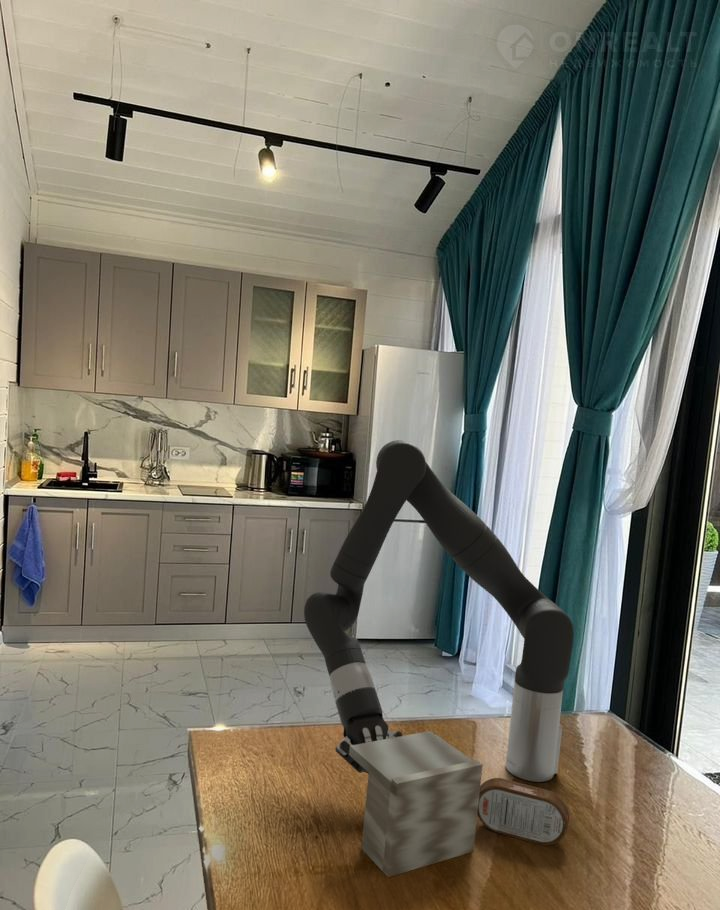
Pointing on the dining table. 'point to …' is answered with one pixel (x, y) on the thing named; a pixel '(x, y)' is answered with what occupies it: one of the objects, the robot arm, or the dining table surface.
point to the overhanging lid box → (417, 801)
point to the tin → (522, 811)
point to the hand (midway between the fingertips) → (385, 794)
